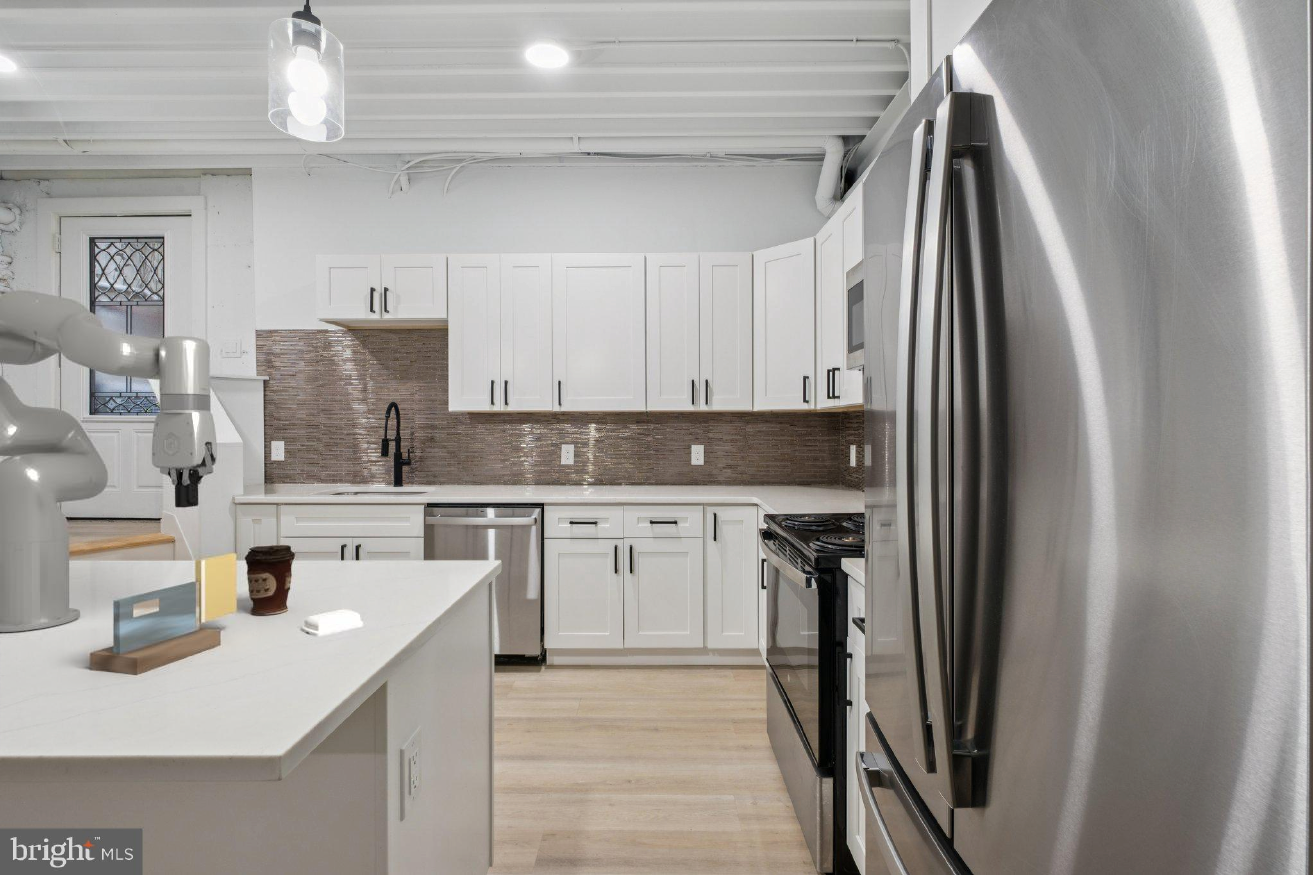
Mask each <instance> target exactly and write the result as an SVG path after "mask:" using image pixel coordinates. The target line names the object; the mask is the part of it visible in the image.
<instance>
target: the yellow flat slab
mask: <svg viewBox="0 0 1313 875" xmlns="http://www.w3.org/2000/svg"><path fill="white" fill-rule="evenodd" d="M194 564H195V565H194V566H195V568H194V570H195V571H194V573H195V574H194V575H195V580H194V582H199V624H203V623H205V622H208V621H211V620H216V619H217V618H222V617H225V616H228V615H231V614H234V613H237V610H238V608H237V599H238V598H237V596H238V595H237V586H238V584H237V582H238V581H237V574H238V572H237V564H238V563H237V553H234V552H232V553H231V552H230V553H226V554H221V555H215V556H210V557H206V558H200V559H196V560H195V561H194Z"/></svg>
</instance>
